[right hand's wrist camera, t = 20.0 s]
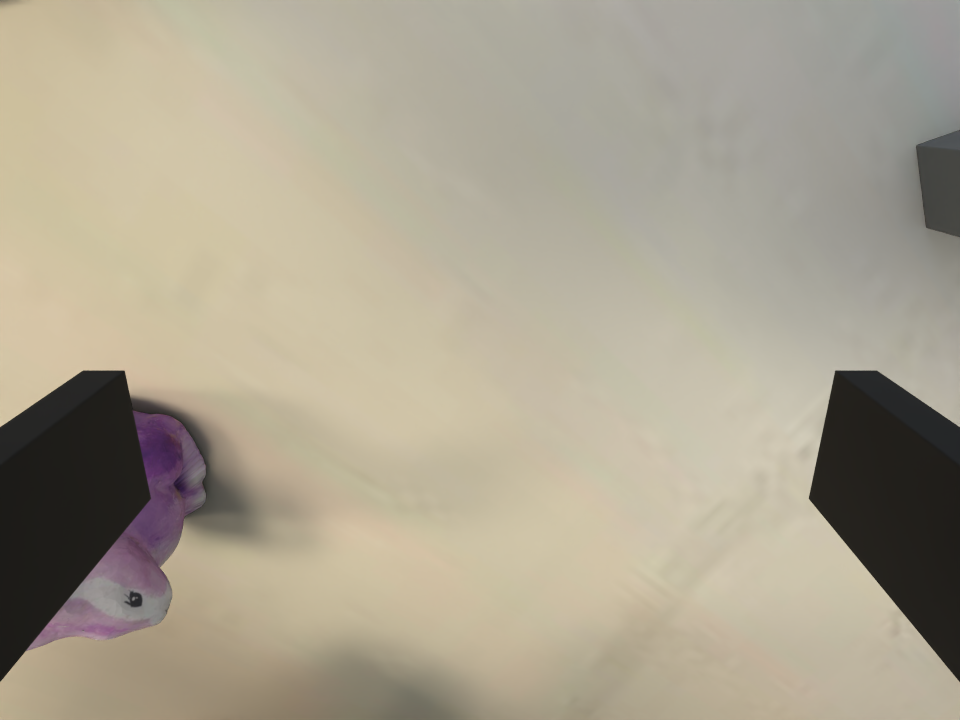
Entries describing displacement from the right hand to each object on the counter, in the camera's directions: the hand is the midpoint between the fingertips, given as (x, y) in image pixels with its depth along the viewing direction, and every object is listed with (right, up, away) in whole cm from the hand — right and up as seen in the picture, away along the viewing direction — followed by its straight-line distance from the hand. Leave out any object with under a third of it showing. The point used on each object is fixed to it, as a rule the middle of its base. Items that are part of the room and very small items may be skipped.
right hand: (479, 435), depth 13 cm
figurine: (-22, -5, +33) cm, 40 cm away
